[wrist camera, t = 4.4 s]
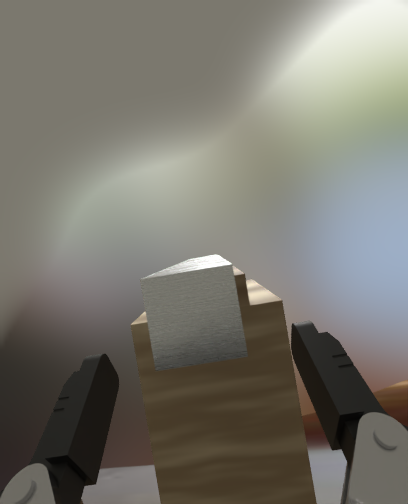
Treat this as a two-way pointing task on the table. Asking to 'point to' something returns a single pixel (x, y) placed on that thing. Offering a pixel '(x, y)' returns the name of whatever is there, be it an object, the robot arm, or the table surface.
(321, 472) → the table surface
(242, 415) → the post
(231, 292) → the rail
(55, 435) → the robot arm
